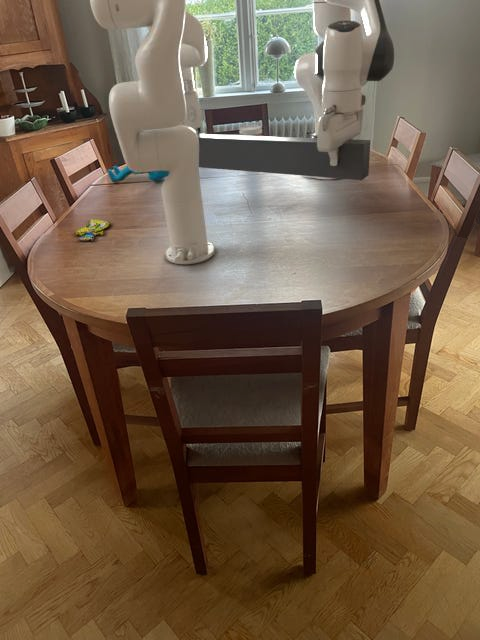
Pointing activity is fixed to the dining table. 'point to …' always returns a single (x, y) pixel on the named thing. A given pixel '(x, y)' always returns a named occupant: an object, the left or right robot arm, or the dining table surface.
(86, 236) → the toy
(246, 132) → the beer cup
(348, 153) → the beam
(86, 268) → the dining table surface
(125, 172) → the toy
